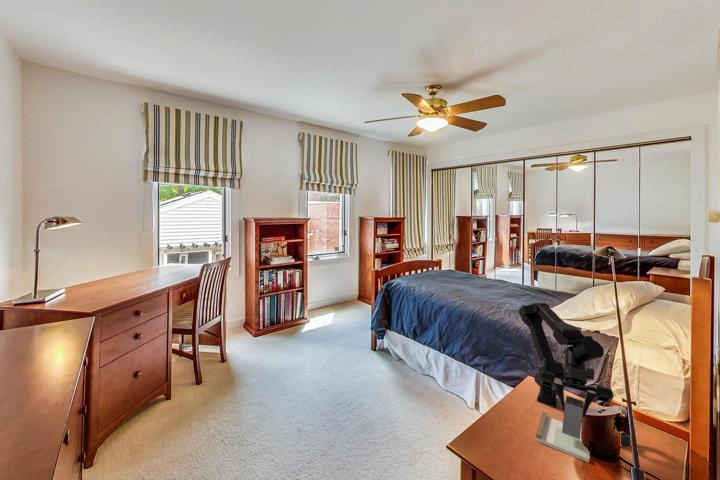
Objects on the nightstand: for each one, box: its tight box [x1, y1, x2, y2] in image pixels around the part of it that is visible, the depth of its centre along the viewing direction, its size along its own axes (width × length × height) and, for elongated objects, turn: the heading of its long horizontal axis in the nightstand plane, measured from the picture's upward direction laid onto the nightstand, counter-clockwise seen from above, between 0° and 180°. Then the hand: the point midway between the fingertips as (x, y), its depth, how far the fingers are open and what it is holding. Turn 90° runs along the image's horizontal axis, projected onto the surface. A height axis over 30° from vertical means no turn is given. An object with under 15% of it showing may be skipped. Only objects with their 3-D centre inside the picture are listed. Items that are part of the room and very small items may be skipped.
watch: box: [609, 404, 636, 447], centre depth 99 cm, size 6×8×11 cm
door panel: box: [535, 411, 591, 463], centre depth 100 cm, size 14×14×2 cm
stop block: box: [562, 395, 584, 439], centre depth 96 cm, size 4×4×10 cm
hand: (573, 414), depth 95 cm, fingers closed on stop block, 5 cm apart
